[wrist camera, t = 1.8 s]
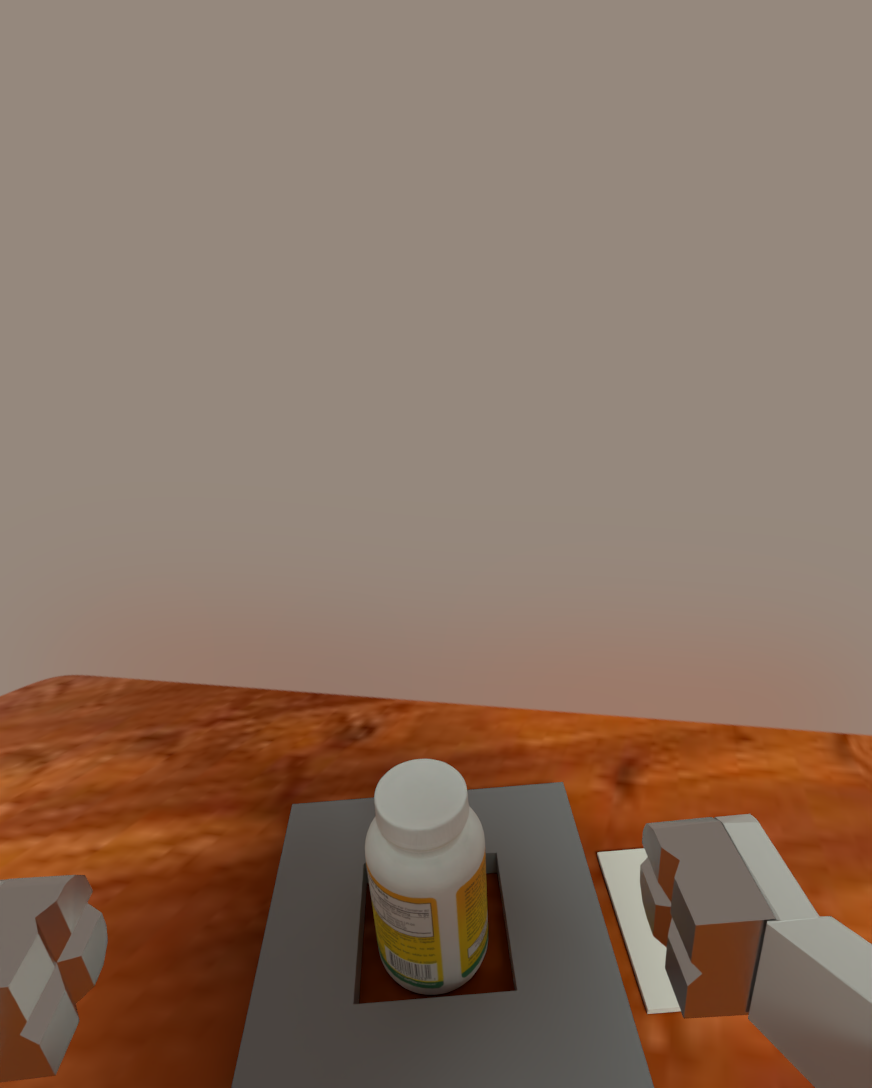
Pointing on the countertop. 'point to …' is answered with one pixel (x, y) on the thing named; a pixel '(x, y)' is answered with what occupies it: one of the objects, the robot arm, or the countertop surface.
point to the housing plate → (454, 1021)
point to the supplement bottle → (427, 877)
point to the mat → (638, 928)
